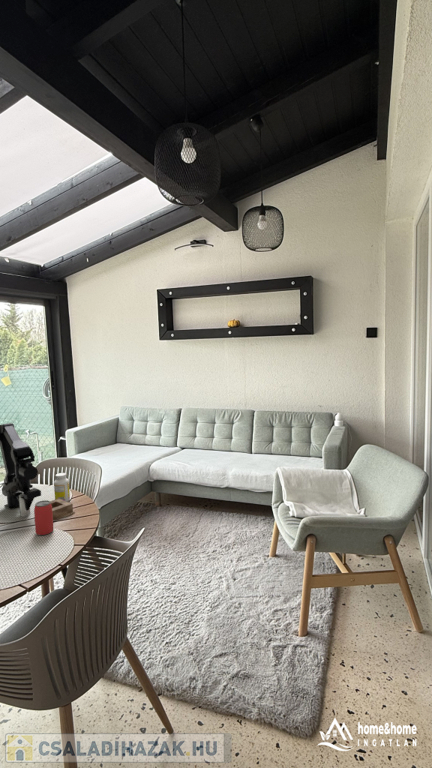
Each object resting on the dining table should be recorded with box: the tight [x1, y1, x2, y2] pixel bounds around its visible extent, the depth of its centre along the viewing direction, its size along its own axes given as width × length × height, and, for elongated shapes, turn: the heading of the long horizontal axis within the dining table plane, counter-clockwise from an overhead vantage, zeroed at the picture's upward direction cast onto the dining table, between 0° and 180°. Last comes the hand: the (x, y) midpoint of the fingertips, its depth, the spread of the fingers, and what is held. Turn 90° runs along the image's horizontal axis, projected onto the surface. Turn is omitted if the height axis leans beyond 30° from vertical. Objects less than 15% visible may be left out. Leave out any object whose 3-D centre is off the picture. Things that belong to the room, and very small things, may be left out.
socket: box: [49, 498, 75, 522], centre depth 181 cm, size 12×12×4 cm
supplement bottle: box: [53, 472, 71, 502], centre depth 196 cm, size 7×7×13 cm
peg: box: [19, 494, 31, 517], centre depth 181 cm, size 4×4×9 cm
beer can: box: [33, 499, 54, 536], centre depth 163 cm, size 7×7×12 cm
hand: (25, 509), depth 181 cm, fingers closed on peg, 4 cm apart
